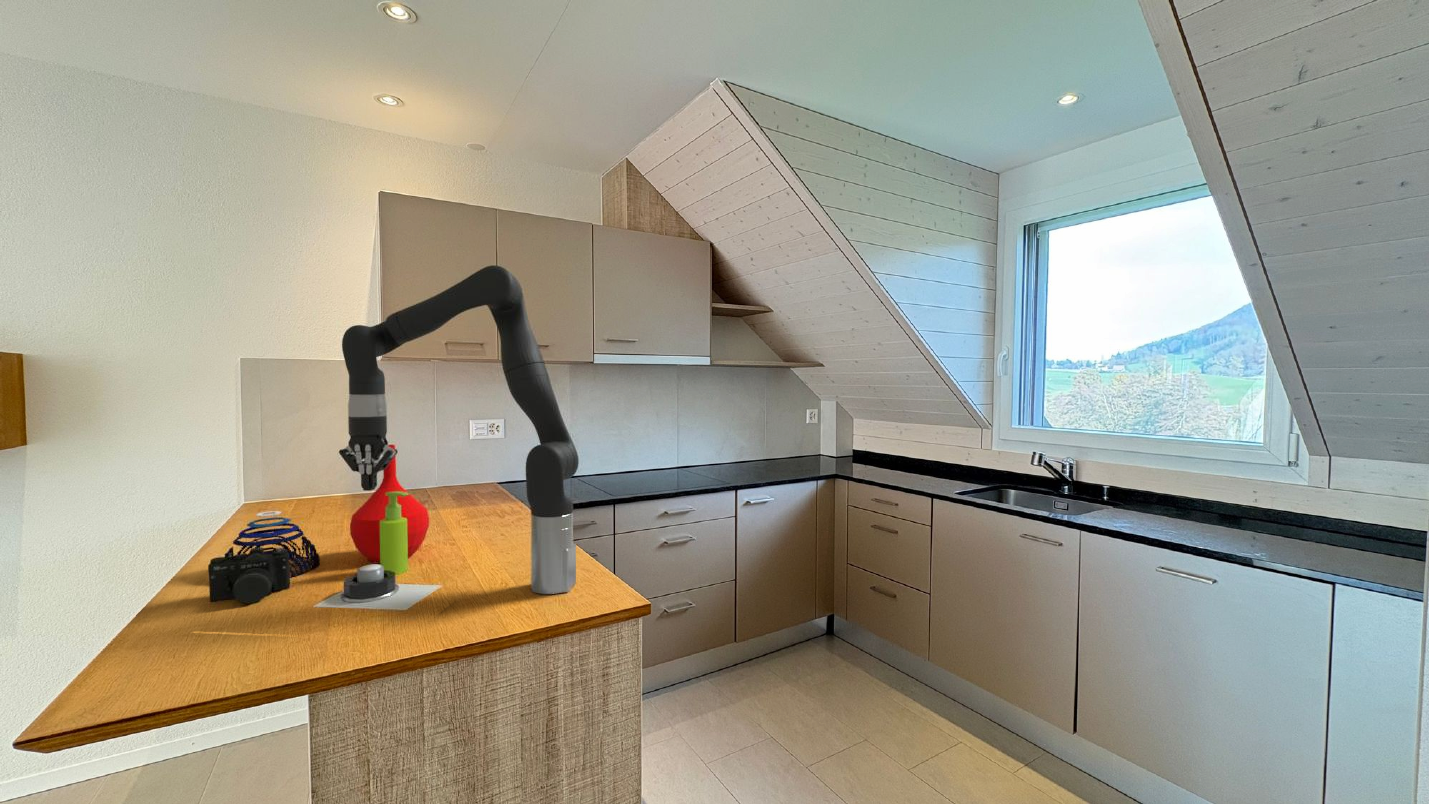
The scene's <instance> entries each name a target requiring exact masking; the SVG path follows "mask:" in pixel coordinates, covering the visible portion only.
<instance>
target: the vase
mask: <svg viewBox="0 0 1429 804" xmlns="http://www.w3.org/2000/svg"><path fill="white" fill-rule="evenodd" d="M388 446H389V447H391V448H392V449H396V445H395V444H388ZM396 456H397V455H395V457H394V458H393V459H392V461H391V462H390V463H389V465H388V466H387V467H386V469H385V470H382V471H383V473H382V474H383V478H382V481H381V483H380V484H379V486H378V488H376V489H375V490H374V492H373V493H372V494H371V496H370V497H369V498H368V499H367V500H366V501H365V502H364V503H363V504H362V505H361V506H360V507H359V508H358V509H357V510H356V511H355V512H354V513H353V514H352V516H351V519H350V523H349V524H350V526H349V529H350V530H349V531H350V537H351V539H352V541H353V543H354V545H355V548H356V550H357V551H358V552H359V553H360V554H361V556H363V557H364V558H366V559H367V560H368V561H370V562H372V563H380V521H381V520H383V519H386V518H385V507H386V506H387V505H388V504H389V495H385V493H388V492H394V491H401V492H406V493H409V492H408V491H407V490H406V489H405V488H404V487H403V486H402V485H401V484H400V482H399V480H398V478H397V461H396V460H397V459H396ZM397 504H399V505H401V517H403V518H407V540H408V559H409V558H410V557H412V556H413V555H414V554H415V553H416V552H417V551H418V550H419V548H420V547H421V545H422V544H423V542H424V541H425V538H426V536H427V533H428V530H429V527H430V517H429V512H428V509H427V507H425V506H424V505H423V504H422V503H420V502H419V501H418V500H417V499H416V498H415V497H414V496H413V495H412V494H410V495H408V496H405V497H402V496H397Z"/></svg>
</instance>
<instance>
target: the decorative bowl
mask: <svg viewBox="0 0 1429 804" xmlns="http://www.w3.org/2000/svg"><path fill="white" fill-rule="evenodd" d="M279 515H282V511H281V510H275V511H274V510H271V511H270V510H269V511H264V512H258V513H256V517H258V518H259V519H255V520H253V521H250V522H248V523H247V524H246V527H247V528H245V529H243V530H241V531H240V532H239V533H238V536H237V537H236V538H235V539H234V540H232V544H233V545H235V546H239V547H240V546H241V549H239V550H238V552H237V554H245V553H246V554H247V555H248V556H249V554H250V552H248V551H250V550H251V549H252V548H260V547H264V546H269V545H270V547H264V548H263V550H264V554H273V552H274V551H276V549H278V548H279V547H277V548H276V547H274V546H271V545H275V546H280V547H281V548H284V549H287V550H288V554H289V567H290V579H291V578H296V577H299V576H302V575H305V574H307V573H310V572H312V571H314V570H316V569H317V568H318V567H319V566H320V565H321V563H320V561H321V560H320V555H319V552H317V549H316V546H315V544H313V543H312V542H311V540H309V539H308V538H307V536H305V534H304V532H303V530H302V529H301V528H300V526H299V525H297V524H295V523H293V522H291V521H292V519H291V518H287V517H281V516H280V517H279ZM273 516H277V517H273ZM266 517H267V518H266ZM273 520H280V521H277V522H270V523H259V522H264V521H273ZM290 522H291V523H290ZM248 527H249V528H248ZM272 527H278V528H272ZM264 528H267V529H264ZM269 528H270V529H269ZM258 529H261V530H258ZM262 529H263V530H262ZM254 530H257V531H254ZM293 532H294V533H295V532H297V533H296V534H294V535H291V536H290V535H289V536H287V537H286V536H282V535H287V534H291V533H293ZM300 538H301V539H300ZM242 539H253V540H252V541H243V540H242ZM296 539H300V540H301V541H302V542H301V547H299V546H298V545H297V543H296V542H295V541H294V540H296ZM241 540H242V541H241ZM286 544H287V545H286ZM288 545H289V546H288ZM290 548H292V549H290ZM297 551H298V553H297ZM301 551H302V552H301ZM247 552H248V553H247ZM228 553H232V556H234V555H235V554H234V546H231V547H230V548H229V549H228V550H227V552H225V553H224V557H228V556H229V554H228ZM237 554H236V555H237ZM304 555H305V556H304ZM292 568H293V569H294V570H293V569H292ZM297 568H298V569H297Z"/></svg>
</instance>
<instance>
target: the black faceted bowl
mask: <svg viewBox="0 0 1429 804" xmlns="http://www.w3.org/2000/svg"><path fill="white" fill-rule="evenodd" d="M397 584H398V583H396V575H395V572H392V571H387V570H384V579H382V580H378V581H375V582H368V583H357V573H356V574H353V575H350V576H348V577H346V578H345V579H344V581H343V590H344V592H343V593H342V594H341V600H342V601H344V602H348V603H365V602H372V601H377V600H381V599H384V598H387V597H390V596H392V595H394V594H395V593H397V592H398V591H399V586H398V585H397Z"/></svg>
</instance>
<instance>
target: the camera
mask: <svg viewBox="0 0 1429 804" xmlns="http://www.w3.org/2000/svg"><path fill="white" fill-rule="evenodd" d="M263 547H264V546H260V548H255V547H252V548H250V549H249V553H250V554H249V556H248V555H247V554H248V553H247V552H246V553H244V554H243V553H242V554H234V556H232V553H228V554H229V556H228V557H225V556H219V557H213V558H211V559H210V563H209V564H208V566H207V568H208V583H209V584H208V585H209V601H210V603H213V602H214V603H215V602H220V601H221V602H222V601H228V600H233V599H235V600H236V601H238V603H242V604H247V605H250V604H251V605H252V604H255V603H258V602H260V601H261V600H263V599H265V597H267V596H268V595H270V594H274V593H279V592H282V591H286V590H289V589H290V588H291V587H290V586H291V578H290V577H291V572H290V567H291V566H290V565H289V562H290V560H289V554H288V550H287V549H284V548H283V547H277V548H278V549H276V551H274V552H273V554H264V551H265V550H263ZM289 566H290V567H289Z"/></svg>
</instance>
